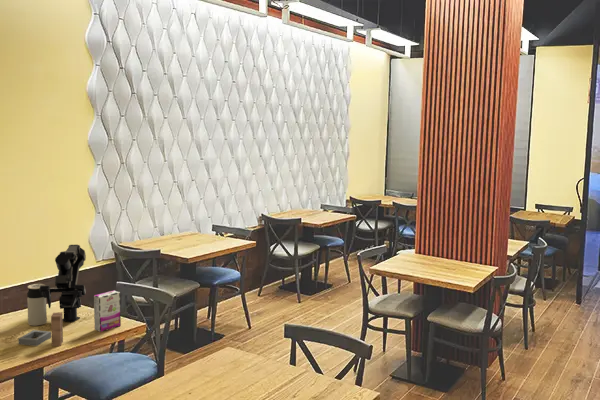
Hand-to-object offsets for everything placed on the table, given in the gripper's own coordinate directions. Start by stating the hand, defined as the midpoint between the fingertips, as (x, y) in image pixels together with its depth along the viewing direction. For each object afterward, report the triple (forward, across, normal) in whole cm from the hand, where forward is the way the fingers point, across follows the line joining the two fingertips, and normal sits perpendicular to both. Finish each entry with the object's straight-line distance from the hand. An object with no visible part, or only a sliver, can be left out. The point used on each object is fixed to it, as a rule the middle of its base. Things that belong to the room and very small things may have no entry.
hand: (60, 307), depth 253 cm
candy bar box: (+3, +18, +16) cm, 25 cm away
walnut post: (+15, 0, +4) cm, 16 cm away
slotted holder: (+12, -10, +7) cm, 17 cm away
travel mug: (-4, -14, +24) cm, 28 cm away
